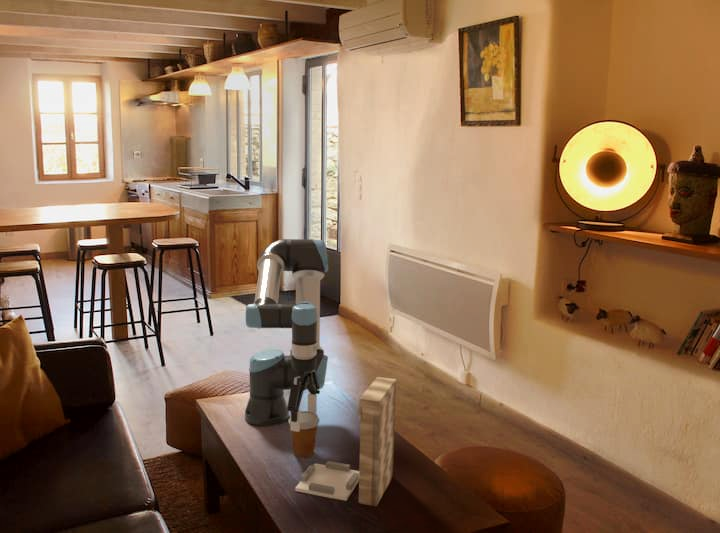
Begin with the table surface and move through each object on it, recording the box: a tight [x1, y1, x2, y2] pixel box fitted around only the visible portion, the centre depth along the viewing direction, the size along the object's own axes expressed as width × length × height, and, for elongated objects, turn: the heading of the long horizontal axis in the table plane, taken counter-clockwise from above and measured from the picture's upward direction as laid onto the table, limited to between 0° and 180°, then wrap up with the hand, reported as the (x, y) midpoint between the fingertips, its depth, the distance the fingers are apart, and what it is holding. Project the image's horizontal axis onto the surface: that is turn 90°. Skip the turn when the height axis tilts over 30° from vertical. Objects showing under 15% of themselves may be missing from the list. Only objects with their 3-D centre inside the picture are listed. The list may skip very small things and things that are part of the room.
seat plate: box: [294, 460, 359, 501], centre depth 195 cm, size 15×15×2 cm
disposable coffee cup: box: [287, 410, 320, 458], centre depth 212 cm, size 10×10×12 cm
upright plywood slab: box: [358, 376, 397, 507], centre depth 190 cm, size 17×6×30 cm, turn 162°
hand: (303, 422), depth 211 cm, fingers open, 13 cm apart
